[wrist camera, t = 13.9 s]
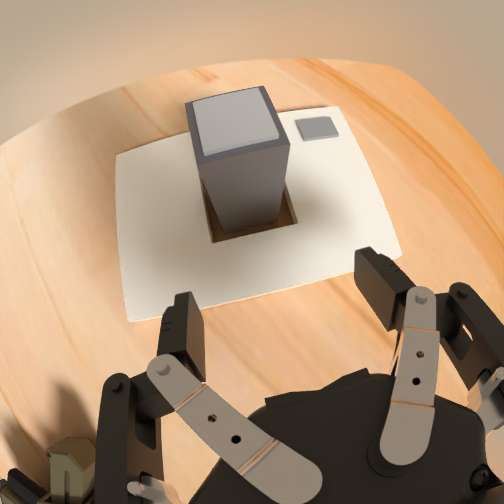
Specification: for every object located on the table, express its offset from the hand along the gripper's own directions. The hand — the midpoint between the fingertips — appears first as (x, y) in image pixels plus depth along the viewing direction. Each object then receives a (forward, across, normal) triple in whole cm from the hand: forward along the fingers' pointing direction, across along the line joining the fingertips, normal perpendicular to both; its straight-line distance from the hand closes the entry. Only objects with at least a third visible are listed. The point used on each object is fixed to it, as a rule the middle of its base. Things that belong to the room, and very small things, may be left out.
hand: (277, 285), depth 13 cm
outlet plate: (+9, 0, -1) cm, 9 cm away
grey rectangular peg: (+9, 0, -1) cm, 9 cm away
